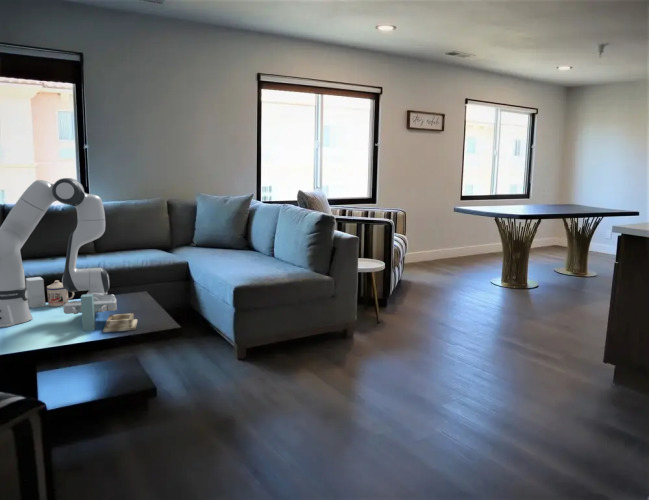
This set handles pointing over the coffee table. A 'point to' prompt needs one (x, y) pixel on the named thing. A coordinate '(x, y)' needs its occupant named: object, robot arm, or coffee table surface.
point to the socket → (120, 323)
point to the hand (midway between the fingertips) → (88, 311)
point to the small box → (35, 292)
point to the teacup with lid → (57, 294)
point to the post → (88, 312)
